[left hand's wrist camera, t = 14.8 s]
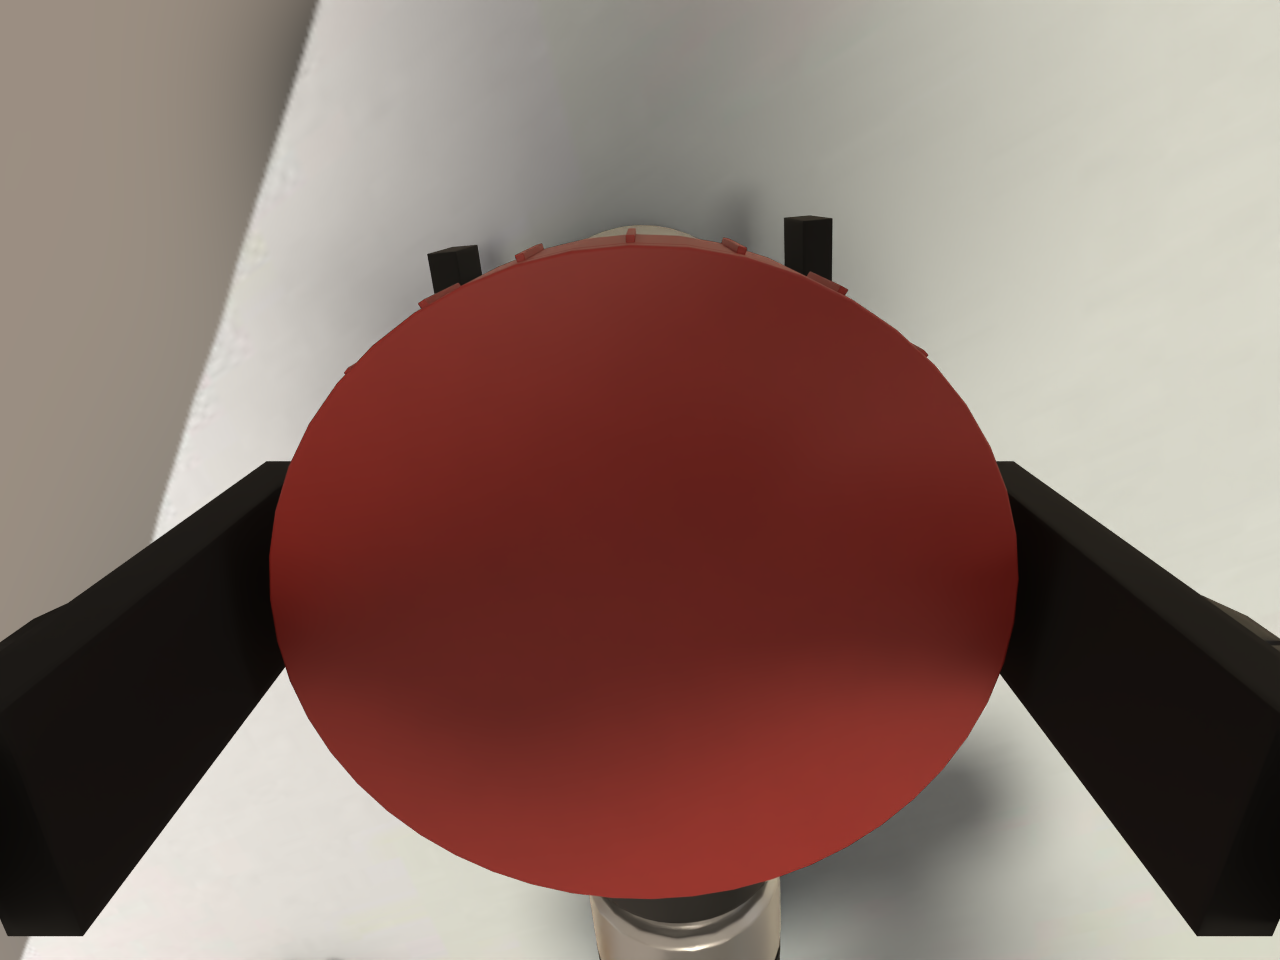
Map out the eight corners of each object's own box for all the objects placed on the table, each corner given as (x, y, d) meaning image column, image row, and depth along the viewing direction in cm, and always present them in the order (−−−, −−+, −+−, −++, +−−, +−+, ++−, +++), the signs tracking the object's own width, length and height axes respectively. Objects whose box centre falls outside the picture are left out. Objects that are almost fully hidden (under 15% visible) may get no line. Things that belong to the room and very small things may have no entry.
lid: (700, 865, 15) (710, 987, 13) (233, 611, 13) (143, 702, 10) (1083, 486, 12) (1188, 556, 10) (555, 68, 10) (530, 32, 7)
